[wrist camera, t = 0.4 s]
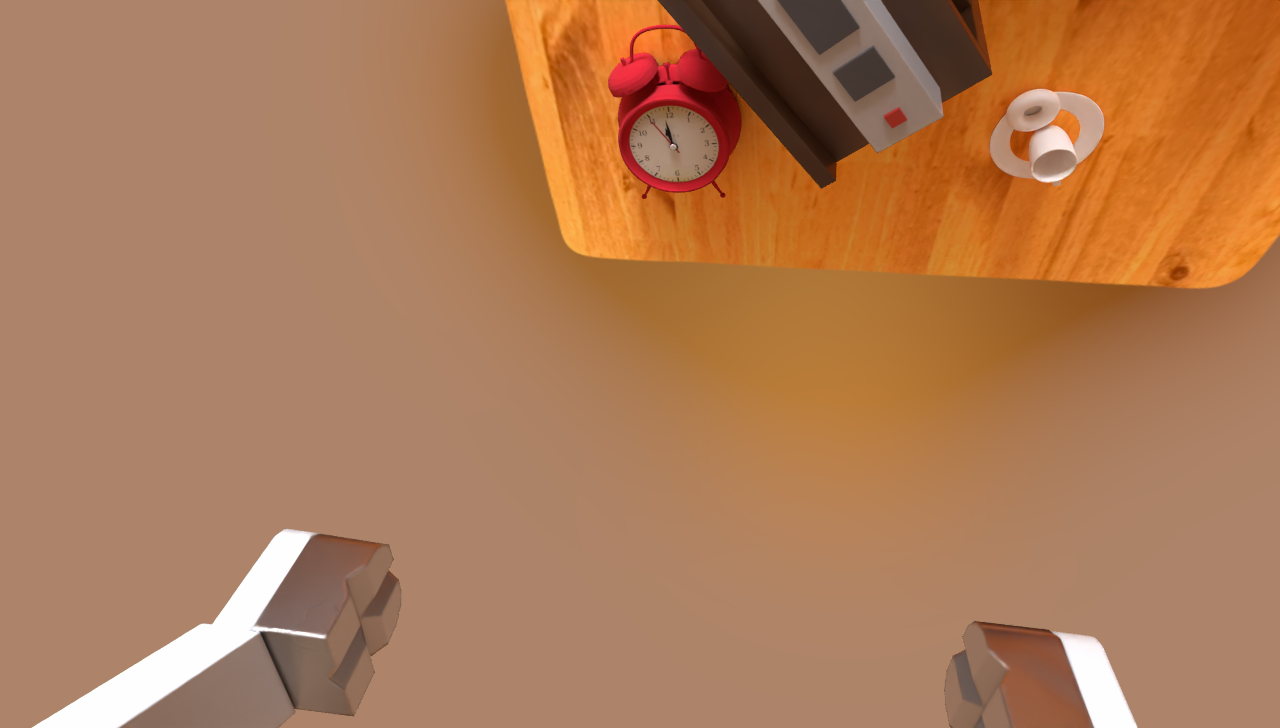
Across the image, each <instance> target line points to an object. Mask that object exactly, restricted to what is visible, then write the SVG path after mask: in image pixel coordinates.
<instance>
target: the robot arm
mask: <svg viewBox="0 0 1280 728" xmlns="http://www.w3.org/2000/svg"><path fill="white" fill-rule="evenodd" d="M393 560H394V559H393V556H392V553H391V549H390V546H389V544H382V543H375V542H369V541H363V540H357V539H349V538H344V537H337V536H331V535H324V534H319V533H312V532H305V531H298V530H290V529H285V530H283V531H282V532H280V533H279V534H278V535H276V536H275V537H274V538H273V539H272V541H271V542H270V543H269V545H268V546H267V548H266V549H265V551H264V552H263V553H262V555H261V556H260V558H259V559H258V560H257V562H256V563H255V565H254V566H253V568H252V569H251V570H250V572H249V573H248V575H247V576H246V578H245V579H244V580H243V582H242V583H241V585H240V586H239V587H238V589H237V590H236V592H235V593H234V594H233V596H232V597H231V599H230V600H229V602H228V603H227V604H226V606H225V607H224V609H223V610H222V611H221V613H220V614H219V616H218V617H217V619H216V620H215V621H214V623H213V624H212V625H211V624H201V625H199V626H197V627H196V628H194V629H192V630H191V631H189V632H187V633H186V634H184V635H183V636H181V637H179V638H178V639H176V640H174V641H173V642H171V643H170V644H168V645H166V646H165V647H163V648H162V649H160V650H158V651H156V652H155V653H153V654H152V655H150V656H149V657H147V658H145V659H144V660H142V661H141V662H139V663H137V664H135V665H134V666H132V667H131V668H129V669H127V670H126V671H124V672H122V673H121V674H119V675H118V676H116V677H114V678H113V679H111V680H109V681H108V682H106V683H104V684H103V685H101V686H99V687H98V688H96V689H95V690H93V691H91V692H90V693H88V694H86V695H85V696H83V697H82V698H80V699H78V700H77V701H75V702H74V703H72V704H70V705H69V706H67V707H65V708H64V709H62V710H60V711H59V712H57V713H56V714H54V715H52V716H51V717H49V718H47V719H46V720H44V721H42V722H41V723H39V724H38V725H36V726H34V727H33V728H279V727H280V726H281V725H282V724H283V723H285V722H286V721H287V720H288V719H289V718H290V717H291V716H292V715H294V714H295V709H300V710H308V711H316V712H325V713H332V714H340V715H347V716H354V715H355V713H356V711H357V709H358V707H359V704H360V702H361V700H362V698H363V696H364V694H365V692H366V690H367V688H368V685H369V683H370V681H371V679H372V677H373V675H374V673H375V671H374V667H373V663H372V659H371V656H372V655H374V654H375V653H376V652H378V651H379V650H380V649H382V648H383V647H384V646H386V645H387V644H388V643H389V640H390V638H391V636H392V633H393V631H394V629H395V627H396V624H397V619H398V616H399V611H400V607H401V588H400V583H399V580H398V579H397V578H396V577H395V576H394V575H393V574H392V573H391V572H390V571H389V568H390V566H391V564H392V562H393ZM962 637H963V641H964V645H965V649H966V650H964V651H962V652H960V653H958V654H956V655H954V656H953V657H952V659H951V661H950V664H949V666H948V669H947V671H946V680H945V689H944V692H945V705H946V711H947V716H948V721H949V726H950V727H951V728H1138V727H1137V725H1136V723H1135V721H1134V718H1133V716H1132V714H1131V711H1130V709H1129V707H1128V704H1127V702H1126V700H1125V697H1124V695H1123V693H1122V690H1121V688H1120V686H1119V684H1118V681H1117V679H1116V677H1115V674H1114V672H1113V670H1112V667H1111V665H1110V663H1109V661H1108V658H1107V656H1106V654H1105V651H1104V649H1103V647H1102V645H1101V644H1100V643H1099V642H1098V641H1097V640H1096V638H1095V637H1091V636H1086V635H1078V634H1069V633H1061V632H1051V631H1049V630H1046V629H1038V628H1029V627H1021V626H1012V625H1004V624H995V623H986V622H978V621H974V622H973V623H971V624H969V625H968V627H967V628H966V631H965V632H964V634H963V636H962Z"/></svg>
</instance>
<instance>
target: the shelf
mask: <svg viewBox="0 0 1280 728" xmlns="http://www.w3.org/2000/svg"><path fill="white" fill-rule="evenodd" d="M658 1H659V2H660V3H661V5H662V6H663V7H664V8H665V9H666V10H667V12H668V13H669V14H670V15H671V16H672V17H673V18H674V20H675V21H676V22H677V23H678V24H679V25H680V26H681V28H682V29H683V30H684V31H685V32H686V33H687V35H688V36H689V37H690V38H691V39H692V40H693V41H694V43H695V44H696V45H697V46H698V47H699V48H700V50H701V51H702V52H703V53H704V54H705V55H706V56H707V58H708V59H709V60H710V61H711V62H712V63H713V64H714V66H715V67H716V68H717V69H718V70H719V71H720V73H721V74H722V75H723V76H724V77H725V78H726V79H727V81H728V82H729V83H730V84H731V85H732V86H733V87H734V89H735V90H736V91H737V92H738V93H739V94H740V96H741V97H742V98H743V99H744V100H745V101H746V102H747V104H748V105H749V106H750V107H751V108H752V109H753V111H754V112H755V113H756V114H757V115H758V116H759V117H760V119H761V120H762V121H763V122H764V123H765V124H766V125H767V127H768V128H769V129H770V130H771V131H772V132H773V134H774V135H775V136H776V137H777V138H778V139H779V140H780V142H781V143H782V144H783V145H784V146H785V147H786V149H787V150H788V151H789V152H790V153H791V154H792V155H793V157H794V158H795V159H796V160H797V161H798V162H799V163H800V165H801V166H802V167H803V168H804V169H805V170H806V172H807V173H808V174H809V175H810V176H811V177H812V178H813V180H814V181H815V182H816V183H817V184H818V185H819V186H820V188H824V187H825V186H827V185H829V184H831V183H833V182H835V181H836V165H837V163H836V162H838V161H839V160H841V159H843V158H845V157H846V156H848V155H850V154H852V153H854V152H855V151H857V150H859V149H861V148H862V147H864V146H866V145H868V144H870V143H869V142H868V141H867V140H866V138H865V137H864V136H863V134H862V133H861V132H860V131H859V129H858V128H857V127H856V125H855V124H854V123H853V122H852V120H851V119H850V118H849V117H848V115H847V114H846V113H845V111H844V110H843V109H842V108H841V106H840V105H839V104H838V102H837V101H836V100H835V99H834V97H833V96H832V95H831V93H830V92H829V91H828V90H827V88H826V87H825V86H824V84H823V83H822V82H821V81H820V79H819V78H818V77H817V76H816V74H815V73H814V72H813V70H812V69H811V68H810V67H809V65H808V64H807V63H806V61H805V60H804V59H803V58H802V56H801V55H800V54H799V52H798V51H797V50H796V49H795V47H794V46H793V45H792V43H791V42H790V41H789V40H788V38H787V37H786V36H785V35H784V33H783V32H782V31H781V29H780V28H779V27H778V26H777V24H776V23H775V22H774V20H773V19H772V18H771V17H770V15H769V14H768V13H767V11H766V10H765V9H764V8H763V6H762V5H761V4H760V2H759V1H758V0H658ZM881 1H882V3H883V4H884V6H885V7H886V9H887V10H888V12H889V13H890V15H891V16H892V18H893V19H894V21H895V22H896V24H897V25H898V27H899V28H900V30H901V31H902V33H903V34H904V36H905V37H906V39H907V40H908V42H909V43H910V45H911V46H912V48H913V49H914V50H915V52H916V53H917V55H918V56H919V58H920V59H921V61H922V62H923V64H924V65H925V67H926V68H927V70H928V71H929V73H930V74H931V76H932V77H933V79H934V80H935V82H936V83H937V85H938V86H939V88H940V92H941V100H942V103H943V102H944V101H946V100H948V99H950V98H952V97H953V96H955V95H957V94H959V93H960V92H962V91H964V90H966V89H968V88H969V87H971V86H973V85H975V84H976V83H978V82H980V81H982V80H984V79H985V78H987V77H989V76H991V75H992V69H991V64H990V59H989V54H988V49H987V44H986V39H985V34H984V29H983V24H982V19H981V14H980V9H979V4H978V0H881Z"/></svg>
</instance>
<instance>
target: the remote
mask: <svg viewBox="0 0 1280 728" xmlns="http://www.w3.org/2000/svg"><path fill="white" fill-rule="evenodd" d="M758 1H759V2H760V4H761V5H762V6H763V8H764V9H765V10H766V11H767V13H768V14H769V15H770V17H771V18H772V19H773V20H774V22H775V23H776V24H777V26H778V27H779V28H780V29H781V31H782V32H783V33H784V35H785V36H786V37H787V38H788V40H789V41H790V42H791V43H792V45H793V46H794V47H795V49H796V50H797V51H798V52H799V54H800V55H801V56H802V58H803V59H804V60H805V61H806V63H807V64H808V65H809V67H810V68H811V69H812V70H813V72H814V73H815V74H816V76H817V77H818V78H819V79H820V81H821V82H822V83H823V84H824V86H825V87H826V88H827V90H828V91H829V92H830V93H831V95H832V96H833V97H834V99H835V100H836V101H837V102H838V104H839V105H840V106H841V108H842V109H843V110H844V111H845V113H846V114H847V115H848V117H849V118H850V119H851V120H852V122H853V123H854V124H855V125H856V127H857V128H858V129H859V131H860V132H861V133H862V134H863V136H864V137H865V138H866V140H867V141H868V142H869V143H870V145H871V146H872V147H873V149H874V150H875V151H876V152H877V153H879V152H880V151H882V150H884V149H886V148H888V147H890V146H891V145H893V144H895V143H897V142H899V141H900V140H902V139H904V138H906V137H908V136H910V135H911V134H913V133H915V132H917V131H919V130H921V129H922V128H924V127H926V126H928V125H930V124H931V123H933V122H935V121H937V120H939V119H941V118H942V117H943V108H942V100H941V92H940V88H939V86H938V85H937V83H936V82H935V80H934V79H933V77H932V76H931V74H930V73H929V71H928V70H927V68H926V67H925V65H924V64H923V62H922V61H921V59H920V58H919V56H918V55H917V53H916V52H915V50H914V49H913V48H912V46H911V45H910V43H909V42H908V40H907V39H906V37H905V36H904V34H903V33H902V31H901V30H900V28H899V27H898V25H897V24H896V22H895V21H894V19H893V18H892V16H891V15H890V13H889V12H888V10H887V9H886V7H885V6H884V4H883V3H882V1H881V0H758Z"/></svg>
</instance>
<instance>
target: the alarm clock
mask: <svg viewBox="0 0 1280 728" xmlns="http://www.w3.org/2000/svg"><path fill="white" fill-rule="evenodd" d="M655 29H676V30H680V31H683V32H685V31H684V30H683V29H682V28H681V27H680V26H675V25H656V26H651V27H647V28H644V29H642V30H640V31H639V32H637V33H636V34H635V35H634V36H633V38H632V40H631V43H630V57H628V58H626V59H624V58H621V62H620V63H619V64H618V65H617V66H616V67H615V68H614V70H613V71H612V73H611V75H610V77H609V80H608V86H609V89H610V91H611V93H612V95H613V96H614V97H622V100H621V102H620V106H619V111H618V122H619V128H620V129H619V135H618V142H619V148H620V152H621V156H622V158H623V161H624V162H625V164H626V166H627V167H628V169H629V170H630V171H631V172H632V173H633V174H634V175H635V176H636V177H637V178H638V179H639V180H641V181H642V182H644V183H645V184H647V185H648V187H647V190H646V192H645V194H643V195H642V198H643V199H646V198H647V193H648V191H649V189H650V188H651V187H653V188H656V189H659V190H662V191H666V192H674V193H682V192H690V191H694V190H698V189H701V188H703V187H705V186H707V185H708V184H710V183H712V184H713V186H714V187H715V188H716V189H717V190H718V191H719V193H720V194H721V195H720V196H721V197H722V198H724V197H725V193H722V191H721V190H720V188H719V187H718V185H717V184H716V182H715V181H714V180H715V179H716V178H717V177H718V176H719V175H720V173H721V172H722V171H723V169H724V168H725V166H726V164H727V162H728V159H729V156H730V155H731V153H732V152H733V150H734V149H735V147H736V145H737V143H738V140H739V136H740V131H741V114H740V109H739V106H738V104H737V101H736V99H735V97H734V96H733V94H732V93H731V91H730V90H729V89H728V87H727V85H728V84H729V82H728V81H727V79H726V78H725V77H724V76H723V75H722V74H721V73H720V71H719V70H718V69H717V68H716V67H715V66H714V64H713V63H712V62H711V61H710V60H709V59H708V58H707V56H706V55H705V54H704V53H703V52H702V51H701V50H700V48H699V47H698V46H697V45H696V44H695V43H694V44H695V46H696V48H697V49H694V50H689V51H688V52H686V53H684V54H683V55H682V56H681V57H680V59H679V61H678V64H671V65H670V63H664V64H663V66H658V64H657V62H656V60H655V59H654V57H653V56H652V55H650V54H647V53H639V54H635V55H633V46H634V42H635V39H636V38H637V37H638V36H639V35H640V34H642V33H644V32H646V31H650V30H655ZM685 33H686V32H685ZM686 34H687V33H686Z"/></svg>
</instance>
